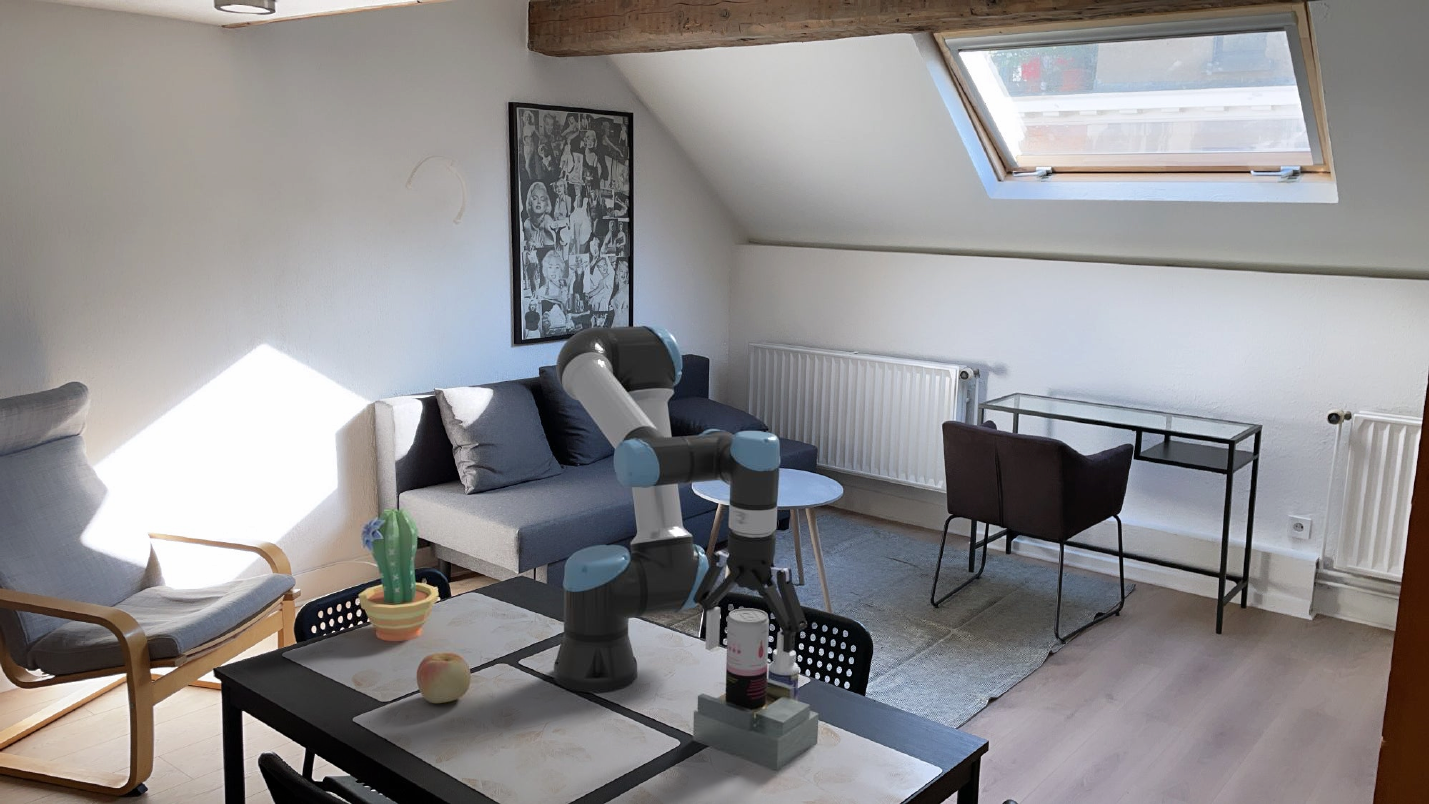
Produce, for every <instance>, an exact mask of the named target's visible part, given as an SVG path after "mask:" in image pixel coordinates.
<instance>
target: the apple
mask: <svg viewBox="0 0 1429 804" xmlns="http://www.w3.org/2000/svg"><path fill="white" fill-rule="evenodd" d="M471 679H472V678H471V669H470V666H469V664H468V662H467V661H466V660H465V659H464V658H463V657H461V656H460V655H459V654H456V653H455V654H454V653H451V652H450V653H446V652H445V653H443V652H442V653H441V652H440V653H433V654H429V655H427V656H425V657H424V658H423V659H422V660H421V662H420V663H419V665H418V667H417V670H416V684H417V688H418V690H419V693H420V694H421V696H422V697H423V698H424V699H425V700H426V701H427V702H429V703H432V704H442V703H447V702H448V703H449V702H452V701H455V700H458V699H461V698H462V697H463V696H465V694H466V693H467V692H468V690H469V688H470V685H471V684H470V683H471Z"/></svg>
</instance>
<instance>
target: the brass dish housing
mask: <svg viewBox="0 0 1429 804" xmlns="http://www.w3.org/2000/svg"><path fill="white" fill-rule="evenodd" d="M725 698H726V692H725V693H723V694H721V695H720V696H718V697H714V696H712V695H708V694H705V693H700V694H699V695H697V708H696V709H695V710H693V727H692V728H693V733H692V741H694V742H697V743H700V744H701V745H705V746H707V747H710V748H713V749H715V750H719V751H721V752H724V753H726V754H729V755H732V756H733V757H737V758H740V759H742V760H746V761H748V762H751V763H753V764H756V765H759V766H762V767H764V768H767V769H770V770H772V771H775V772H779V770H782V768H784V767H785V766H786V765H788V764H789V763H791V762H793V761H794V760H795V759H797V758H798V757H799V756H801V755H802V754H803V753H805V752H806V751H808V750H809V749H811V748H812V747H814V746H815V745H816V744H818V735H819V713H818V712H815V711H812V710H811V705H810V704H808V703H805V702H802V701H799V700H797V701H796V700H794V686H790V685H787V684H784V683H781V682H778V681H774V680H771V679H768V677H767V691H766V704H765V705H764V706H763V707H762V708H761V709H759V710H756V711H753V710H750V709H747V708H744V707H741V706H738V705H736V704H733V703H730V702H727V701H725Z"/></svg>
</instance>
